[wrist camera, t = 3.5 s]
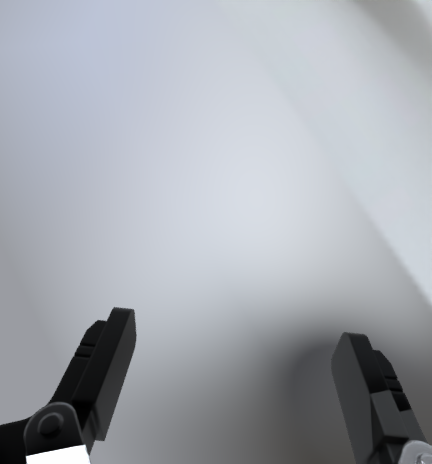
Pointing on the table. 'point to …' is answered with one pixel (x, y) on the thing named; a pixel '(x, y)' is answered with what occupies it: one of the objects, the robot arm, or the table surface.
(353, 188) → the table surface
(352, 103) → the table surface
